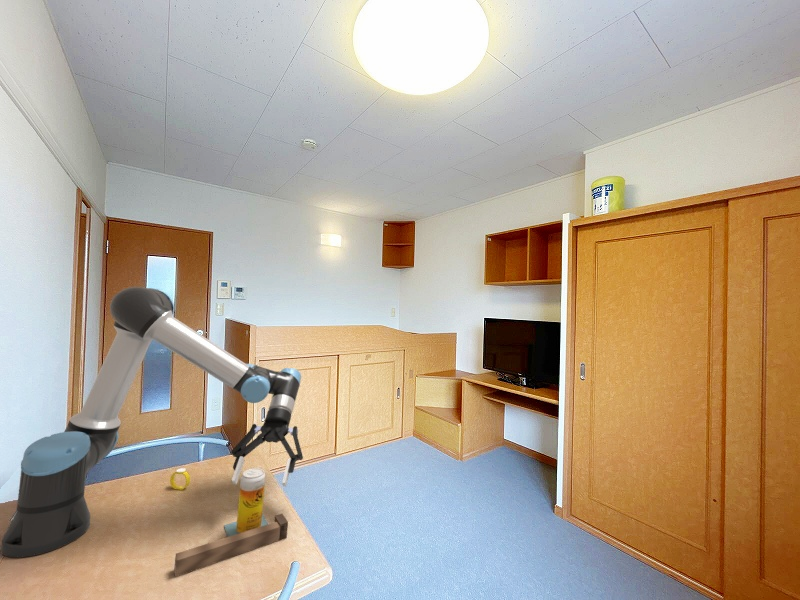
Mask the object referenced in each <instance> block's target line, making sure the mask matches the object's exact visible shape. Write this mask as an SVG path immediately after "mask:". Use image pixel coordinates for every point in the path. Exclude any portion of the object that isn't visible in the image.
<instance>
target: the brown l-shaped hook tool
mask: <svg viewBox="0 0 800 600" xmlns="http://www.w3.org/2000/svg"><path fill="white" fill-rule="evenodd" d="M273 520H274V522H271V523H268V525H265V526H261V527H258V528H255V529H252V530H249V531H246V532H242V533H239V534H236V535H233V536H230V537H228V536H227V537H224V538H221V539H220V538H219V539H217V540H213V541H211V542H208V543H205V544H203V545H199V546H195V547H193V548H189V549H187V550H183V551H179V552H177V553H175V558H174V569H173V571H174V572H173V573H174V577H175V578H176V577H177V578H178V577H179V576H182V575H186V574H189V573H191V572H193V571H194V572H195V571H196V569H197V570H200V569H202V567H203V568H205V567H208V566H211V565H214V564H215V563H219V562H222V561H225V560H228V559H230V558H233V557H236V556H238V555H242V554H245V553H248V552H250V551H253V550H257V549H259V548H262V547H265V546H267V545H270V544H273V543H276V542H279V541H281V540H284V539H287V537H288V529H289V527H288V526H289V521H288V520H287V518H286V517H285V516H284V514H283V513H279V514H276V515H274V519H273ZM207 565H208V566H207ZM199 568H200V569H199Z"/></svg>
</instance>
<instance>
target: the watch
mask: <svg viewBox="0 0 800 600" xmlns="http://www.w3.org/2000/svg"><path fill="white" fill-rule="evenodd" d="M176 475H183V476H184V478H185V485H184V486H180V485H179V486H178V485H177V484H176V481H175V476H176ZM169 482H170V486H171V487H172V488H173V489H174V490H180V491H183V490H185V489H186V488H187V487H188V486H189V485H190V483H191V476H190V474H189V473H188V472H187V468H185V467H180V468H178V469H176V470H175V471H174V472H173V473H172V474H171V475H170V478H169Z"/></svg>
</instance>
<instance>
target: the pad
mask: <svg viewBox="0 0 800 600" xmlns="http://www.w3.org/2000/svg"><path fill="white" fill-rule="evenodd" d="M268 524H269V523H268V521H267V519H266V518H265V516H264V514H263V513H262V521H261V526H265V525H268ZM236 527H237V520H236V521H233V522H231V523H226V524H224V525H223V528H224V531H225V533H226V536H227V537H230V536H233V535H236V534H239V533H238V532H237V530H236Z"/></svg>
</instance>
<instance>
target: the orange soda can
mask: <svg viewBox="0 0 800 600" xmlns="http://www.w3.org/2000/svg"><path fill="white" fill-rule="evenodd" d="M265 484H266V473H265V470H264V469H263V468H258V467H256V468H255V467H253V468H250V469H245V470H244V471H243V472H242V475H241V477H240V484H239V496H238V505H237V518H236V521H237V527H236V530H237V532H238V533H242V532H246V531H249V530H252V529H255V528H258V527H261V521H262V514H263V508H264V496H265V487H266V486H265Z"/></svg>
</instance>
